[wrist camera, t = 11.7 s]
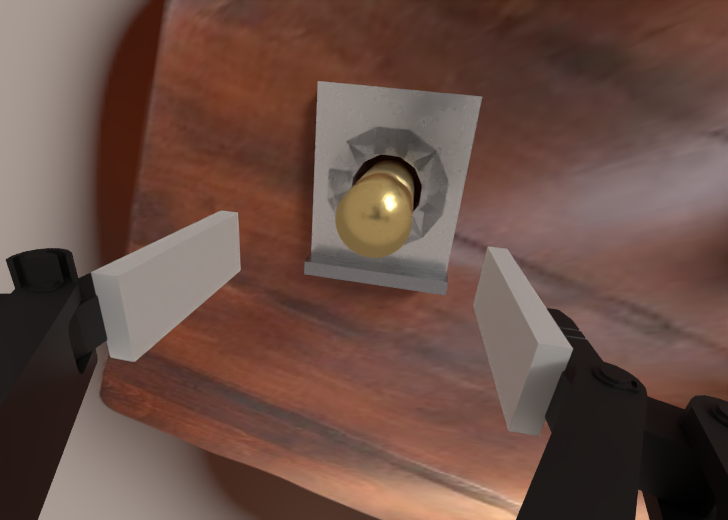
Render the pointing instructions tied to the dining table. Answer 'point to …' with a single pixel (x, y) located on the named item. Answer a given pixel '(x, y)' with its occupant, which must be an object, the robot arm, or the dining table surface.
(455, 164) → the plate
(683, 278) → the dining table surface
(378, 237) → the gold metal cylinder
